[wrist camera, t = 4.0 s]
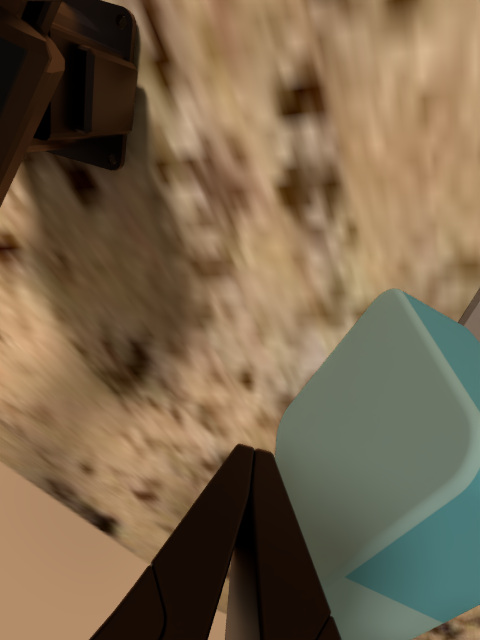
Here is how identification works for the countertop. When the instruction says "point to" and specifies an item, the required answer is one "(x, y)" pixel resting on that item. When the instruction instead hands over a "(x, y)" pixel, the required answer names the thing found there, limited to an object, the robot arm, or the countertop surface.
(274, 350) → the countertop surface
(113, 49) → the robot arm
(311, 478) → the data package
